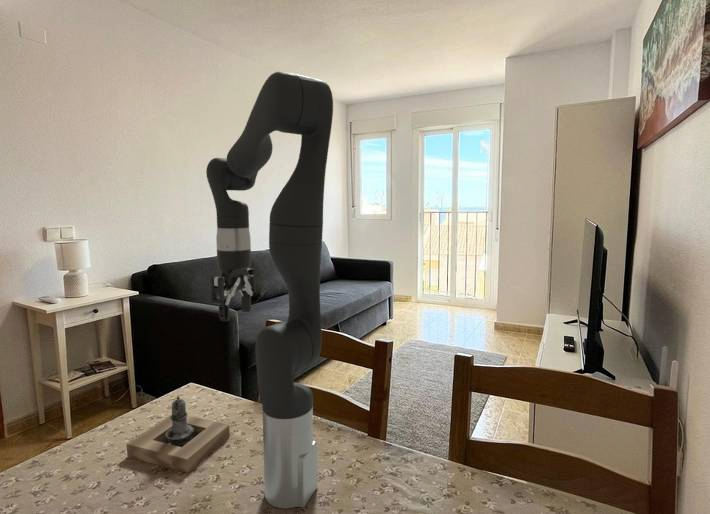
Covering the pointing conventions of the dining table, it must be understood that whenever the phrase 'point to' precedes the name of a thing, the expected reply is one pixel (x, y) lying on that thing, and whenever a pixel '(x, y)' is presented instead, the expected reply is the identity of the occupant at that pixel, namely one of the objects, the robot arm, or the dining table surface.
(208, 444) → the tan picture frame
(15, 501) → the dining table surface
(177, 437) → the grey tall tiered piece
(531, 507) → the dining table surface
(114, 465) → the dining table surface
